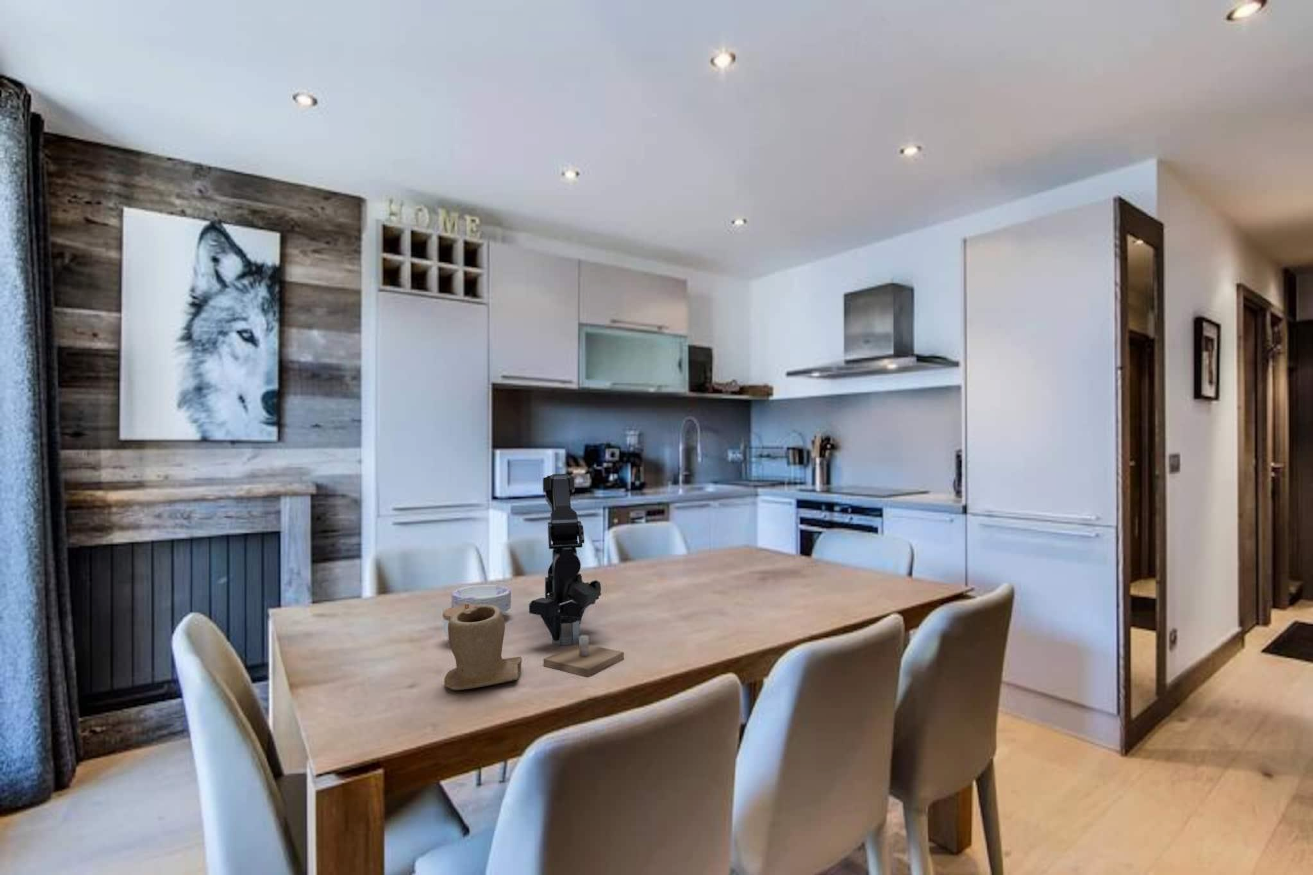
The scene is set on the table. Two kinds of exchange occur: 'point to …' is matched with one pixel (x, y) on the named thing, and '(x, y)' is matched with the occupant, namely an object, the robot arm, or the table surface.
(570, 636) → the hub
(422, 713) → the table surface
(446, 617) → the lidded jar
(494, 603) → the paper bowls
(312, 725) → the table surface
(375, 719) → the table surface
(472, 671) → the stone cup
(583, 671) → the block
